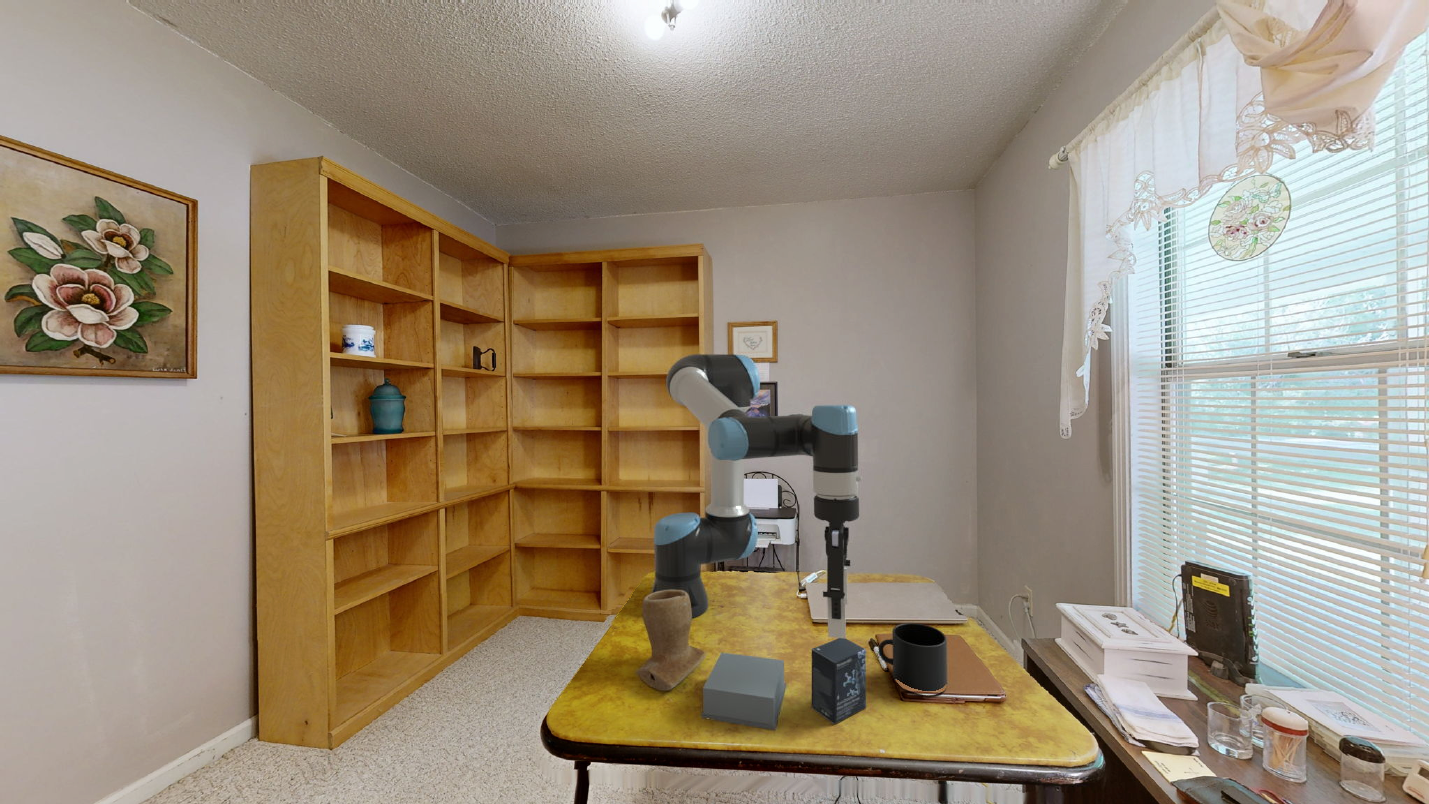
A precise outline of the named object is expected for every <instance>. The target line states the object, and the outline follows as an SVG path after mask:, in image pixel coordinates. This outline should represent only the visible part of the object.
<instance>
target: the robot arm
mask: <svg viewBox="0 0 1429 804" xmlns="http://www.w3.org/2000/svg"><path fill="white" fill-rule="evenodd" d="M665 379H666V380H665V382H666V383H665V386H666V389H667V392H668V394H669V396H670V397H671V398H672V399H673V401H674V402H676V403H677V404H679V405H681V406H685V407H686V408H687V410H689V411H690V412H691V414H692V415H694V417H695V418H696V419H697V420H698V421H699V422H700V423H701V424H702V425H703V426H704V428H705V429H706V430H707V433H708V434H707V442H708V448H709V450H710V454H711V465H710V467H711V470H710V472H711V473H710V474H711V475H710V476H711V479H710V480H711V484H710V486H711V487H710V488H711V490H710V493H711V494H710V503H709V504H708V505H707V506H706V507H705V513H704V514H705V515H704V516H705V517H704V516H703V517H700V515H699V514H698V513H696V512H692V511H691V512H679V513H673V514H670V515H667V516H664V517H662V518H661V519H659V520H658V521H656V523H655V525H654V532H653V533H654V537H653V543H654V544H653V545H654V546H653V548H654V581H653V585H652V588H651V592H650V594H651V593H654V592H657V591H663V590H683V591H685V592H687V594H688V595H689V598H690V602H691V610H692V619H694V618H697V617H699V616H701V615H703V614H705V613H706V611H708V608H709V597H708V594H707V591H706V589H705V586H704V583H703V579H702V577H701V575H702V574H701V566H702V565H707V564H714V563H719V562H729V561H737V560H740V559H744V558H748V557H750V555H752V553H754V551H755V549H756V546H757V543H758V535H759V532H758V526H757V520H756V518H755V515H753V514H752V513H751V512H750V508H749V507H748V506H747V505H746V504H745V503H744V502H745V500H744V499H745V497H744V495H745V491H744V490H745V489H744V488H745V485H744V484H745V482H744V481H745V460H751V459H752V460H753V459H763V458H775V457H776V458H778V457H791V456H792V457H793V456H805V457H806V456H807V457H812V490H813V492H814V493H815V494H816V495H815V496H813V514H814V517H815V518H816V519H818V520H820V521H826V522H828V526H826V525H825V526H824V528H825V529H824V533H823V534H824V535H823V536H824V541H825V555H826V556H827V558H826V559H827V565H826V566H827V568H826V569H827V570H826V571H827V572H826V573H827V574H826V575H827V576H826V577H827V578H826V581H827V584H826V586H827V588H826V591H822V597H823V598H826V599H827V600H826V601H827V602H826V603H827V633H828V634H827V637H828V638H835V639H836V638H837V639H838V638H844V639H847V633H846V632H847V631H846V630H847V629H846V627H847V626H846V625H847V623H846V616H847V615H846V605H848V604H849V602H848V567H851V560H850V559H847V558H848V544H849V539H850V537H849V536H850V535H849V534H850V529H849V528H850V527H847V526H846V522H854V521H856V520H858V518H860V499H859V497H858V496H857V494H858V493H859V483H858V482H860V483H861V482H862V481H863V477H862V476H861V475H858V473H859V438H858V437H859V426H858V420H857V419H858V418H857V416H858V415H857V409H856V408H855V407H854V406H853V405H851V404H823V405H821V404H819V405H815V406H814V407H812V411H811V415H808V414H807V415H806V414H801V413H797V414H789V415H777V416H776V415H774V416H750V415H749V414H748V413H747V411H749V409H751V406H752V404H751V402H752V400H755V399H756V398H757V397H758V396H759V392H760V388H761V387H760V386H761V382H760V381H761V380H760V374H759V370H758V367H757V365H756V364H755V362H754V361H753V359H752V358H751V357H749V356H748V355H745V354H734V353H731V354H725V353H722V354H719V353H718V354H717V353H716V354H713V353H711V354H709V353H708V354H706V353H705V354H703V353H699V354H698V353H694V354H690V355H687V356H683V357H681V358H680V359H678V360H676V362H674V363H673V365H672V366H671V367H670V368H669V370H668V373H667V375H666V378H665Z"/></svg>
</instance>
